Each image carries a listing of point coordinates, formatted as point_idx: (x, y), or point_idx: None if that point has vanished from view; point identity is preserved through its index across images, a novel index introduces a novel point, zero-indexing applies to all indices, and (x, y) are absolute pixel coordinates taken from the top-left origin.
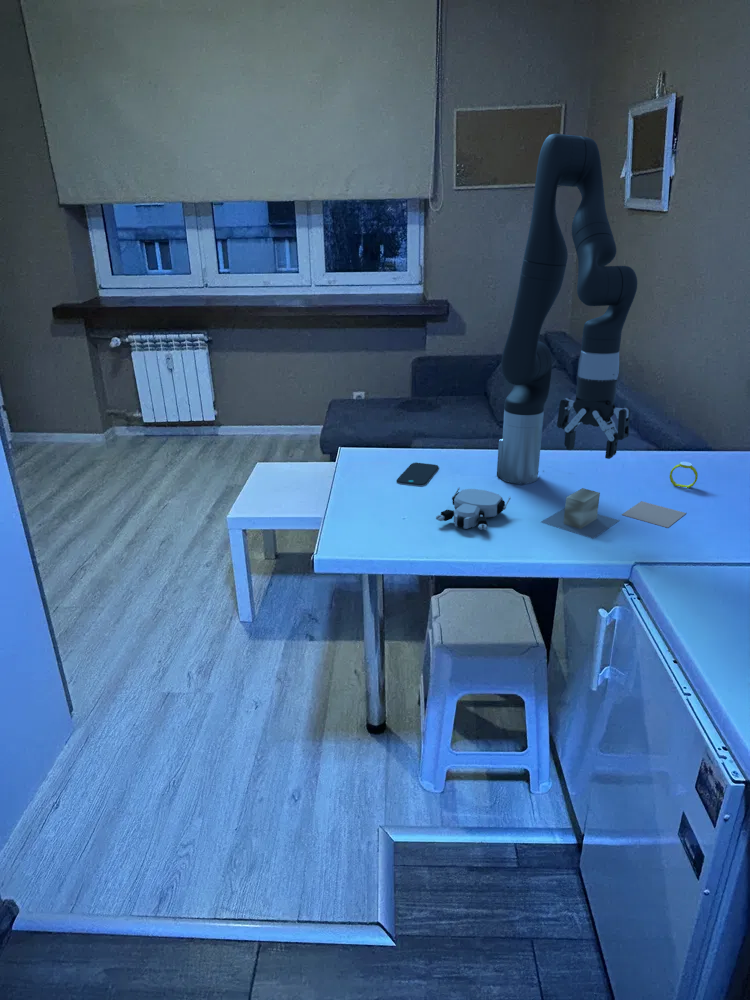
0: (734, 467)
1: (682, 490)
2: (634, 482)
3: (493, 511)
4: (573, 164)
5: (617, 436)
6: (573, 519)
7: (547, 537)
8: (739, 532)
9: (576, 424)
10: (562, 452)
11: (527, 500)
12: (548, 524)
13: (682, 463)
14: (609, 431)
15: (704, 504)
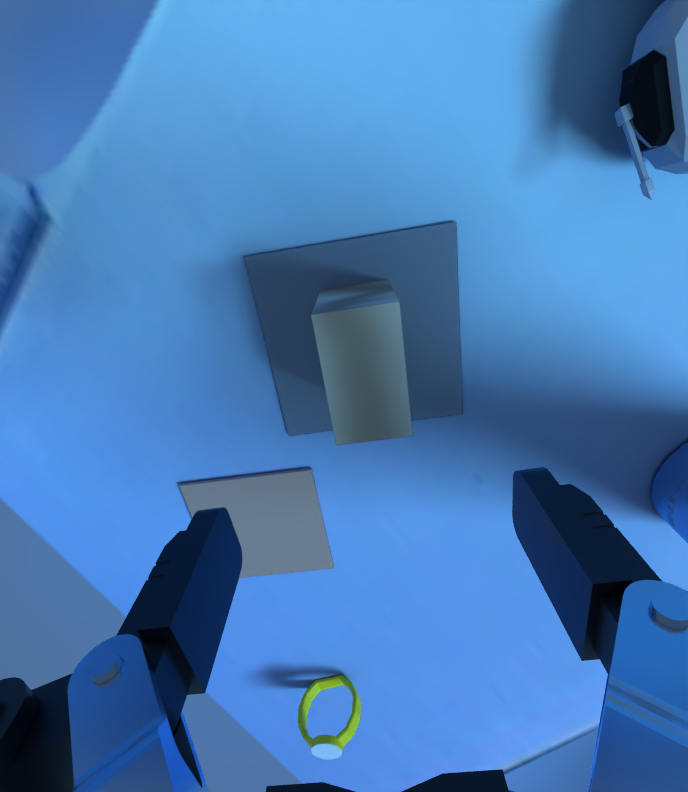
0: None
1: (315, 667)
2: (420, 642)
3: (652, 25)
4: None
5: (15, 711)
6: (351, 290)
7: (357, 126)
8: (85, 573)
9: (600, 732)
10: None
11: (599, 351)
12: (421, 227)
13: (332, 748)
14: (93, 756)
15: (234, 639)
